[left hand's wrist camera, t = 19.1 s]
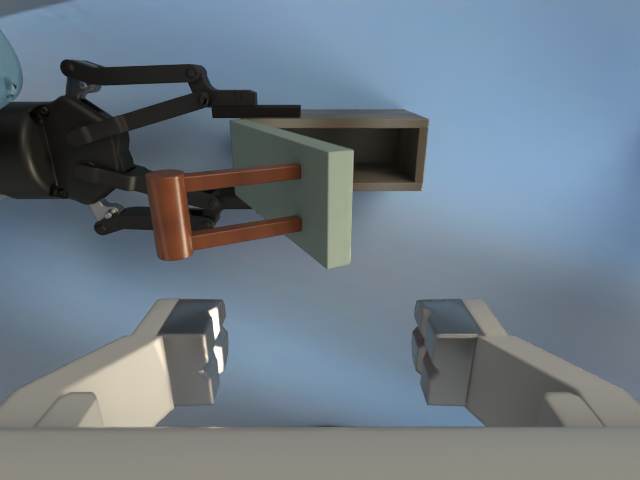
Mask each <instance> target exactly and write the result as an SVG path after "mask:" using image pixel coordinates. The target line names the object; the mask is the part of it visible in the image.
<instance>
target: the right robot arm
mask: <svg viewBox="0 0 640 480" xmlns="http://www.w3.org/2000/svg"><path fill="white" fill-rule="evenodd" d="M60 68H61V71H62V73H63V74H64V75H65V76H67V85H66V95H64V96H61V97H59V98H57V99H56V100H54V101H52V102H11V101H13V100H14V99H15V98H16V97H17V96H18V94H19V93H20V91H21V88H22V83H23V77H22V70H21V66H20V63H19V60H18V58H17V56H16V54H15V52H14V50H13V48H12V46H11V44H10V43H9V41H8V40H7V38H6V37H5V35H4V34H3V32H2V31H1V30H0V199H9V198H15V199H73V200H76V201H78V202H80V203H82V204H86V205H89V206H90V208H91V210H92V212H93V213H94V215H95V217H96V219H97V221H98V222H97V223H95V225H94V229H95V231H96V232H97V233H98V234H100V235H106V234H109V233H112V232H115V231H119V230H122V229H141V230H153V224H152V218H151V212H150V207H128V208H125V209H124V207H123V205H121V204H118V203H109V202H107V201H106V200H105V197H106V196H107V195H108V194H109V193H111V192H112V191H113V190H114V189H116V188H118V189H121V190H126V191H138V192H142V193H146V194H148V193H147V186H146V180H145V175H146V174H147V173H149V172H153V171H150V170H148V169H147V168H145V167H142V166H138V165H134V164H133V158H132V156H131V154H130V151H129V140H130V139H129V133H128V131H130V130H133V129H137V128H140V127H143V126H147V125H150V124H153V123H156V122H160V121H163V120H166V119H170V118H173V117H176V116H179V115H183V114H186V113H189V112H193V111H196V110H199V109H202V108H206V107H212V117H213V118H300V115H301V105H257V93H256V92H254V91H252V90H218V89H215V88H214V87H213V86H212V85H211V84H210V82H209V79H208V77H207V72H206V69H205V68H204V67H203V66H201V65H193V64H181V65H154V66H128V67H104V66H100V65H97V64H94V63H91V62H88V61H82V60H67V59H66V60H63V61H62V62H61V65H60ZM181 82H188V84H189V86H190V88H191V90H192V93H191V94H188V95H185V96H182V97H178V98H175V99H172V100H169V101H165V102H162V103H159V104H156V105H152V106H149V107H146V108H143V109H139V110H136V111H133V112H130V113H126V114H123V115H120V116H116V117H112V116H111V115H109V114H108V113H106V112H105V111H103V110H102V109H100V108H99V107H97V106H96V105H94V104H93V103H91V102H90V101H88V100H87V99H85V97H86V95H87V94H88V93H94V92H98V91H99V90H100V89H101V85H128V84H155V83H181ZM187 200H188V205H192V206H196V207H200V208H204V209H197V208H189V217H190V225H191V231H198V230H204V229H211V228H213V227H214V226H215V225H216V223H217V222H218V220H219V218H220V213H221V210H223V209H252V208H251V207H250V206H249V205H247V204H246V203H245V202H244V201H243V200H241V199H240V198H239V197H238V196H236V195H235V187H228V188H219V189H211V190H202V191H194V192H187ZM320 427H335V426H320Z"/></svg>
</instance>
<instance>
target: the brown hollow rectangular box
mask: <svg viewBox="0 0 640 480" xmlns="http://www.w3.org/2000/svg"><path fill="white" fill-rule="evenodd" d="M245 119H247V120H250V121H254V122H257V123H261V124H264V125H268V126H271V127H275V128H278V129H282V130H285V131H289V132H292V133H296V134H300V135H303V136H307V137H310V138H314V139H317V140H321V141H324V142H328V143H331V144H335V145H338V146H342V147H345V148H349V149H352V150H354V160H353V191H422V186H423V183H422V182H423V177H424V166H425V156H426V145H427V135H428V123H429V119H427V118H425V117H422V116H419V115H417V114H414V113H412V112H409V111H406V110H301V115H300V118H241V119H240V120H245Z"/></svg>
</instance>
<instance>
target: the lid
mask: <svg viewBox="0 0 640 480" xmlns="http://www.w3.org/2000/svg"><path fill="white" fill-rule="evenodd" d="M230 132H231V145H232V158H233V169H226V170H216V171H205V172H195V173H185V174H184V172H183V171H180V170H158V171H153V172H149V173H147V174H146V175H145V180H146V186H147V193H148V199H149V205H150V212H151V218H152V224H153V231H154V237H155V243H156V250H157V256H158V258H159V259H161V260H166V261H175V260H181V259H185V258H187V257H189V256H191V255H192V254H193V252H194V250H198V249H204V248H210V247H215V246H221V245H227V244H232V243H238V242H243V241H249V240H255V239H260V238H266V237H272V236H277V235H283V234H284V235H286V236H287V237H288V238H289V239H291V240H292V241H293V242H294V243H295V244H297V245H298V246H299V247H300V248H302V249H303V250H304V251H305V252H307V253H308V254H309V255H310V256H311V257H313V258H314V259H315V260H316V261H318V262H319V263H320V264H321V265H323V266H324V267H325V268H326V269H331V268H335V267H339V266H344V265H348V264H350V255H351V223H352V192H353V160H354V150H352V149H349V148H345V147H342V146H338V145H335V144H331V143H328V142H324V141H321V140H317V139H314V138H310V137H307V136H303V135H300V134H296V133H292V132H289V131H285V130H282V129H278V128H275V127H271V126H268V125H264V124H261V123H257V122H254V121H250V120H247V119H245V120H230ZM228 187H235V195H236V196H238V197H239V198H240V199H241V200H243V201H244V202H245V203H246V204H247V205H249V206H250V207H251V208H252V209H254V210H255V211H256V212H257V213H259V214H260V215H261V216H262V217H263V218H265V219H266V220H261V221H255V222H249V223H242V224H236V225H230V226H223V227H217V228H211V229H204V230H198V231H192V232H191V225H190V217H189V208H188V200H187V192H194V191H202V190H211V189H219V188H228Z"/></svg>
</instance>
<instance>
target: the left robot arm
mask: <svg viewBox="0 0 640 480" xmlns="http://www.w3.org/2000/svg"><path fill="white" fill-rule="evenodd" d="M225 317H226V312H225V304H224V302H223V300H215V299H180V298H178V299H159V300H157V301H156V302H155V304H154V305H153V306H152V308H151V309H150V311H149V312H148V313H147V315H146V316H145V317H144V319H143V320H142V321H141V323H140V324H139V326H138V327H137V328H136V330H135V331H134V332H133V334H132V335H131V336H123V337H121V338H119V339H117V340H115V341H113V342H111V343H109V344H107V345H105V346H103V347H101V348H99V349H97V350H95V351H93V352H91V353H89V354H87V355H85V356H83V357H81V358H79V359H77V360H75V361H73V362H71V363H69V364H67V365H64V366H62V367H60V368H58V369H56V370H54V371H52V372H50V373H48V374H46V375H44V376H42V377H40V378H38V379H36V380H34V381H32V382H30V383H28V384H26V385H24V386H22V387H20V388H18V389H16V390H14V391H13V392H12V393H11V394H10V395H9V396H8V397H7V398H6V400H5V401H4V402H3V403H2V404H1V405H0V480H640V404H639V403H638V402H637V401H636V400H635V399H634V398H633V397H632V396H631V395H630V394H629V393H628V392H627V391H626V390H624V389H622V388H620V387H618V386H616V385H614V384H612V383H610V382H608V381H606V380H603V379H601V378H599V377H597V376H595V375H593V374H591V373H589V372H587V371H585V370H583V369H581V368H579V367H577V366H575V365H573V364H571V363H569V362H567V361H565V360H563V359H561V358H559V357H557V356H555V355H553V354H551V353H549V352H547V351H545V350H543V349H541V348H539V347H537V346H535V345H533V344H531V343H529V342H527V341H525V340H523V339H521V338H519V337H517V336H509V335H508V334H507V332H506V331H505V330H504V328H503V327H502V326H501V324H500V323H499V322H498V320H497V319H496V318H495V316H494V315H493V313H492V312H491V311H490V309H489V308H488V307H487V305H486V304H485V303H484V301H483V300H481V299H479V298H475V299H436V300H417V301H416V305H415V312H414V317H415V320H416V322H417V325H418V326H417V327H416V328H415V330H414V331H413V332H412V357H413V362H414V366H415V369H416V371H417V372H418V373H420V374H421V381H420V385H421V388H422V391H423V394H424V397H425V400H426V403H427V405H445V406H466V409H468V410H469V411H470V412H471V413H472V414H473V415H474V416H475V417H476V418H478V419H479V420H480V421H481V422H482V423H483V424H484V425H485V426H486V427H154V426H155V425H156V424H157V423H158V422H159V421H160V420H162V419H163V418H164V417H165V416H166V415H167V414H168V413H169V412H170V411H172V410H173V409H174V406H195V405H213V403H214V400H215V397H216V394H217V391H218V388H219V385H220V381H219V374H220V373H222V372H223V371H224V369H225V366H226V363H227V356H228V332H227V331H226V330H225V328H224V327H223V326H222V325H223V322H224V320H225Z"/></svg>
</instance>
